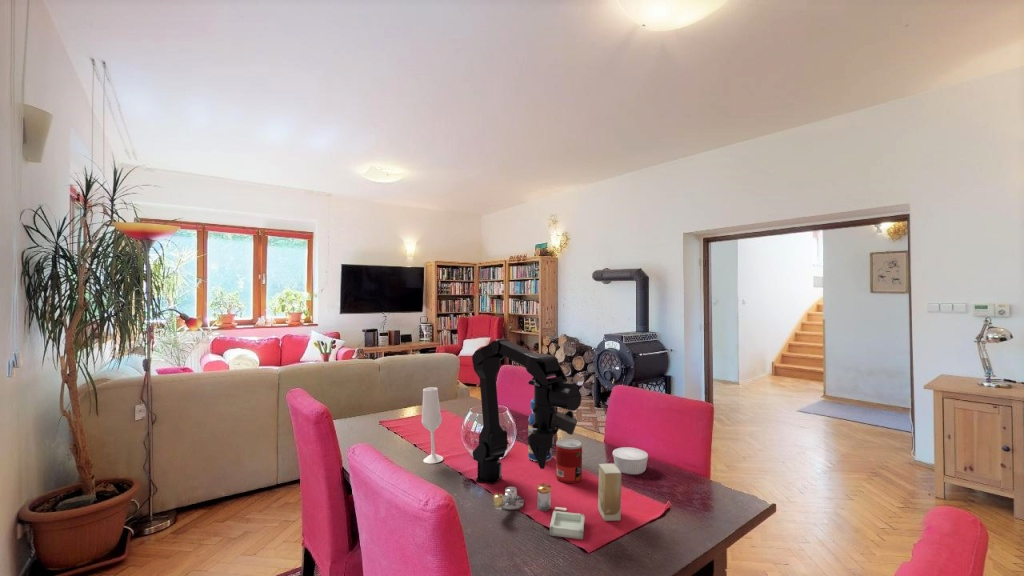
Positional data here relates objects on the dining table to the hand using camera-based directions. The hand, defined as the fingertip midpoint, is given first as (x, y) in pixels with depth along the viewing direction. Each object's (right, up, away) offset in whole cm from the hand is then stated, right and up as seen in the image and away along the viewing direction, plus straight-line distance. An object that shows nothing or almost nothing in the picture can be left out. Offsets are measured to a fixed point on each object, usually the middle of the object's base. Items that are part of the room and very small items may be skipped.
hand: (544, 462), depth 117 cm
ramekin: (+30, -13, +26) cm, 42 cm away
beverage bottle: (+1, -13, +34) cm, 37 cm away
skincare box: (+16, -13, -4) cm, 21 cm away
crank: (-11, -11, -2) cm, 15 cm away
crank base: (-9, -12, +2) cm, 15 cm away
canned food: (+9, -13, +18) cm, 24 cm away
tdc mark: (+4, -12, -1) cm, 13 cm away
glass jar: (0, -12, 0) cm, 12 cm away
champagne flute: (-35, -12, +32) cm, 49 cm away
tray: (+5, -12, -10) cm, 17 cm away
